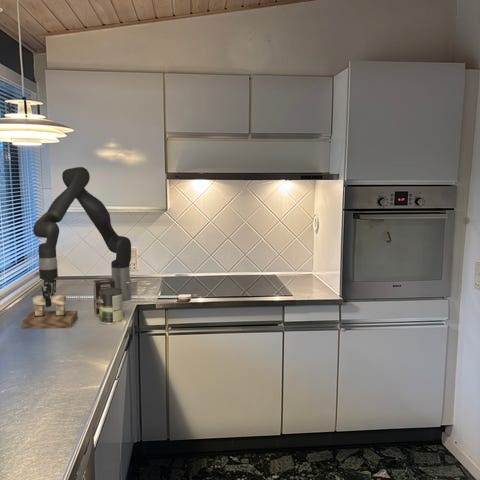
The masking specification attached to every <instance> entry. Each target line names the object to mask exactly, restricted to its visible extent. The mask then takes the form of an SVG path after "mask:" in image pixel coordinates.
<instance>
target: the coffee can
mask: <svg viewBox="0 0 480 480" xmlns="http://www.w3.org/2000/svg"><path fill="white" fill-rule="evenodd" d="M99 309H100V316H99V323H101V324H103V325H117V324H120V323H122V322H123V320H124V319H123V316H124V315H123V301H122V289H119V288H105V289H101V290H99Z"/></svg>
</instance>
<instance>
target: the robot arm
mask: <svg viewBox="0 0 480 480" xmlns="http://www.w3.org/2000/svg"><path fill="white" fill-rule="evenodd" d="M61 178H62V182H63V183H64V185H65V186H66V188H65V190H64V191H62V192H61V193H60V194H59V195H58V196H57V197H55V199H54V200H53V201H52V203H51V205H50V206H49V207H48V209H47V211H46V212H45V213H44V214H42V216H41V217H39V218H38V220H36V221H35V223H34V226H33V228H32V232H33V234H34V236H35V237H36V238H42V239H46V241H45V242H43V243H40V244H39V245H38V277H39V279H41V280H43V283H42V286H41V292H42V296H43V298H45V302H46V305H45V307H46V308H51V307H52V305H51V296H56V294H55V293H57V278H58V277H59V271H58V270H59V269H58V259H57V245H58V239H59V235H60V227H59V225H58V223H60V222H61V221H62V220H63V218H64V216H65V215H66V213H67V211H68V210H69V208H70V206H71V205H72V203H74V201H75V200H77V202H78V203H79V204H80V205H81V207H82V208H83V209H84V211H85V213H86V215H87V216H88V218H89V220H90V221H91V223H92V224H93V225H94V226H95V227H96V229H97V231H98V233H99V234H100V235H101V237H102V239H103V241H104V243H105V245H106V247H107V248H108V250H109V251H110V252H112V253H113V254H115V259H114V260H112V261H111V279H113V280H114V281H115V288H119V289H122V302H123V301H130V300H131V299H132V298H131V297H132V283H131V282H132V280H131V273H130V272H131V270H130V269H131V267H130V266H131V261H132V242H131V239H130V238H129V237H126V236H122V235H119V234H118V233H117V232H116V231H115V229H114V228H113V226H112V220H111V214H110V212H109V211H108V209H107V207H106V206H105V205H104V203H103V202H102V201H101V200H100V199H98V198H97V197H96V196H94V195H93V194H91V193H90V192H89V191H88V190H86V187H87V185H88V184H89V182H90V179H91V178H90V172H89V170H88V169H87V168H86V167H83V166H76V167H72V168H67V169H65V170H63V172H62V174H61Z"/></svg>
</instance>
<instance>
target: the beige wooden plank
mask: <svg viewBox="0 0 480 480" xmlns="http://www.w3.org/2000/svg"><path fill="white" fill-rule="evenodd" d="M66 303H67V295H62V294H61V295H54V296H51V306H52V305H53V306H55V309H56V310H55V311H56V315H64V314H65V311H66ZM32 305H33V306H34V311H35V316H42V315H43V314H44V311H45V306H46V302H45V298H43V295H35V296H34V297H32Z"/></svg>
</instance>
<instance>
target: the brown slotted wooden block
mask: <svg viewBox="0 0 480 480" xmlns="http://www.w3.org/2000/svg"><path fill="white" fill-rule="evenodd" d="M78 317H79V315H78V310H65V314H64V315H56V310H44V314H43V315H42V316H35V310H32V311H30V312H29V314H27V315H26V316H25V317H24V318H23V319H22V329H23V330H27V329H26V328H29V330H30V328H31V330H32V328H34V329H35V330H36V329H37V328H39V329H67V328H66V327H71V328H73V326H74V325H75V323H76V322H77V320H78V319H79V318H78ZM73 324H74V325H73Z"/></svg>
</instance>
